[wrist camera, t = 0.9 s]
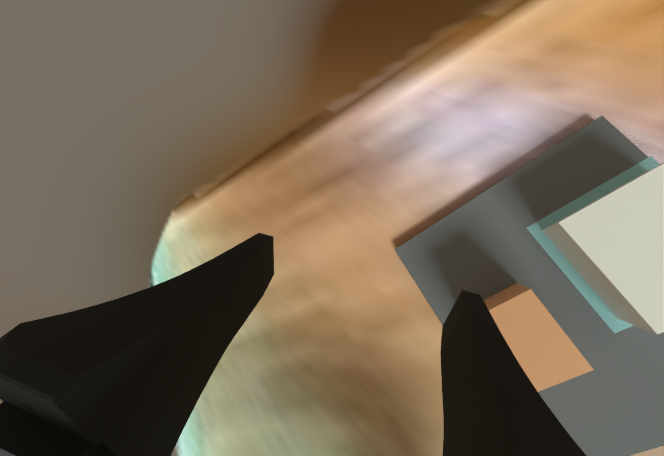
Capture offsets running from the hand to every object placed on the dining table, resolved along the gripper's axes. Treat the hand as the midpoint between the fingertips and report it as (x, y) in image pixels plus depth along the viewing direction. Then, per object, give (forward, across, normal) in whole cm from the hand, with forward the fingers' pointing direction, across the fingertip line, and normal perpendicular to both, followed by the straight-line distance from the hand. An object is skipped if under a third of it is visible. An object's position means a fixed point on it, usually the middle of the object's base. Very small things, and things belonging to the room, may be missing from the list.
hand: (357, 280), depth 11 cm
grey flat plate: (+8, -12, +4) cm, 15 cm away
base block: (+9, -14, +1) cm, 17 cm away
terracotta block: (+6, -10, +7) cm, 13 cm away
